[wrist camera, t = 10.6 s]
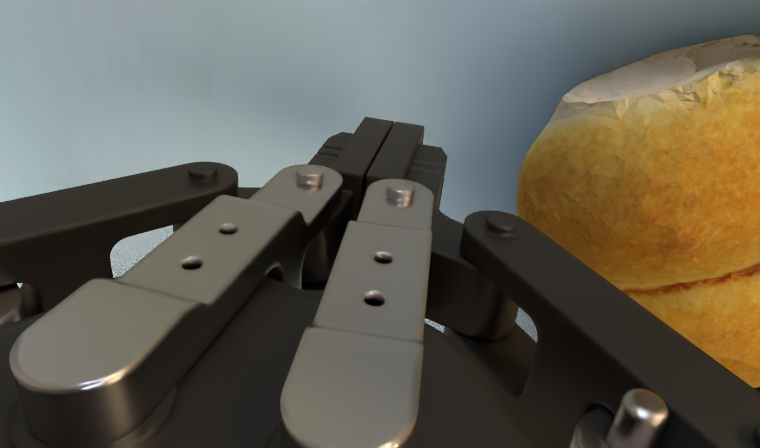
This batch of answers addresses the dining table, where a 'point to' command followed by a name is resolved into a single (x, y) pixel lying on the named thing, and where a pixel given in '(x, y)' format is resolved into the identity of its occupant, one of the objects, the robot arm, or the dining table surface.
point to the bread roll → (664, 190)
